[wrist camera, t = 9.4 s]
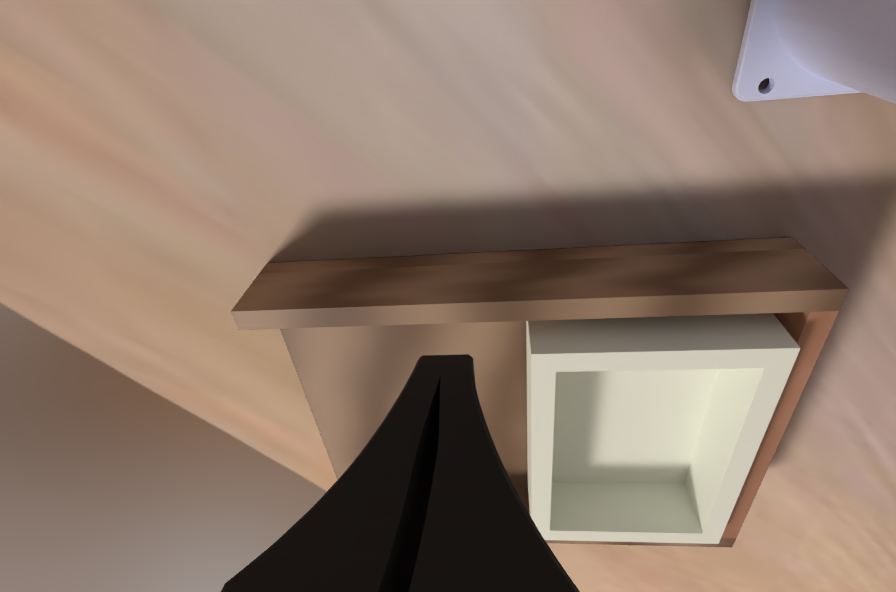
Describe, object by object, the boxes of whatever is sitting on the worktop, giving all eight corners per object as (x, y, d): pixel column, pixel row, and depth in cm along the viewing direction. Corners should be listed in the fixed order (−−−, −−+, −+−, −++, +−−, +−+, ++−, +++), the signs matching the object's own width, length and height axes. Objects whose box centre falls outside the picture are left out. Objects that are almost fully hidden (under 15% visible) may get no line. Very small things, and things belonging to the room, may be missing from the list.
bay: (792, 237, 21) (849, 288, 17) (706, 485, 31) (732, 547, 28) (267, 262, 24) (230, 311, 20) (347, 482, 34) (331, 537, 30)
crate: (757, 293, 21) (800, 347, 18) (695, 484, 29) (718, 544, 26) (526, 301, 22) (531, 354, 19) (527, 483, 30) (531, 539, 27)
